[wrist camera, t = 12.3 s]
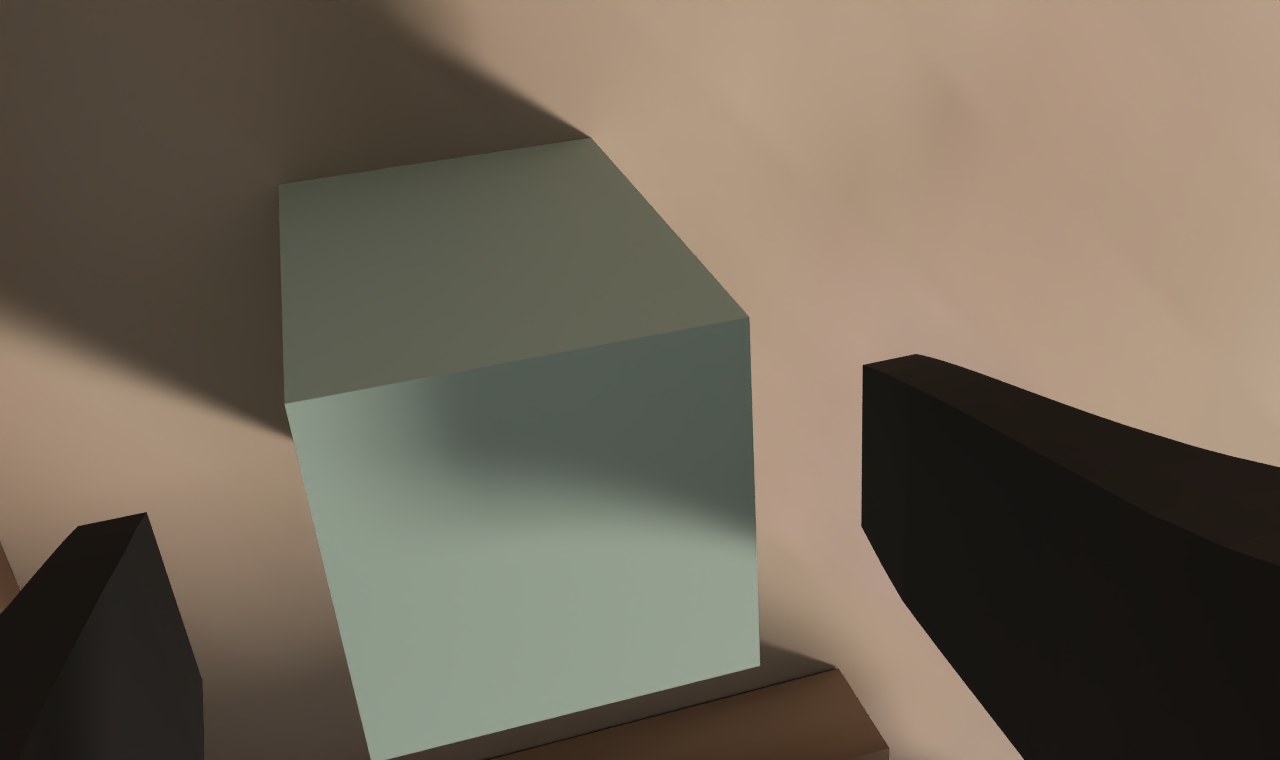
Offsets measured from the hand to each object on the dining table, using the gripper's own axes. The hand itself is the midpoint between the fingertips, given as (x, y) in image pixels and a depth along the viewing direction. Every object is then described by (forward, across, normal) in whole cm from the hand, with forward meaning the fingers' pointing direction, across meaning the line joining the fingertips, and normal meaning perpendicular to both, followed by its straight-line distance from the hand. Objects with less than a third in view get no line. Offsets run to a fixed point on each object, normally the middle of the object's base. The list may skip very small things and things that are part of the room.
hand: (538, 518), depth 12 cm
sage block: (+5, 0, 0) cm, 5 cm away
